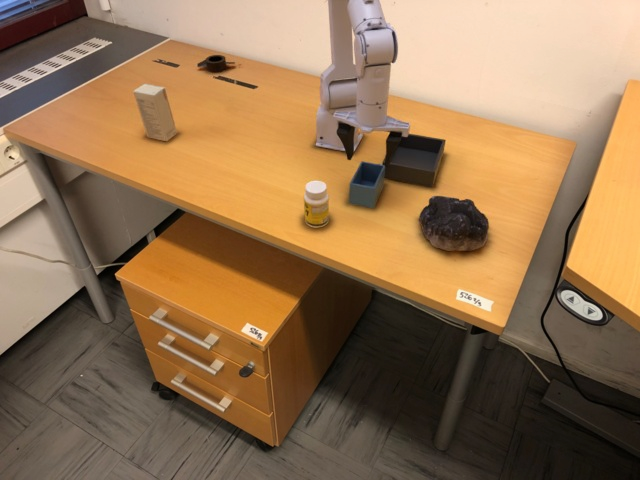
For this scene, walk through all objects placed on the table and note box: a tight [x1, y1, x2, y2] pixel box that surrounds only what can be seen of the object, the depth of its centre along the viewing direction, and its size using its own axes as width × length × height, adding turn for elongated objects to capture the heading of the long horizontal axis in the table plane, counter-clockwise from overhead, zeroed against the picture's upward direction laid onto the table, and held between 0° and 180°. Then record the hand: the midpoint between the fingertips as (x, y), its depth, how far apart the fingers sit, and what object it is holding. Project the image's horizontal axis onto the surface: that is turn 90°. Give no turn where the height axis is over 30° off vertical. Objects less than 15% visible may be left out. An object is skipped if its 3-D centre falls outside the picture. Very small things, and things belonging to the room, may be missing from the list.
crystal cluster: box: [418, 195, 490, 252], centre depth 96 cm, size 13×14×10 cm
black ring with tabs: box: [197, 54, 236, 74], centre depth 153 cm, size 8×10×3 cm
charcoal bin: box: [381, 133, 447, 188], centre depth 114 cm, size 11×13×4 cm
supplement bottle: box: [303, 180, 330, 229], centre depth 99 cm, size 5×5×8 cm
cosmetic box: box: [132, 83, 178, 142], centre depth 122 cm, size 6×4×12 cm
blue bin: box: [348, 160, 385, 209], centre depth 106 cm, size 8×5×5 cm, turn 160°
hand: (368, 160), depth 102 cm, fingers open, 7 cm apart
